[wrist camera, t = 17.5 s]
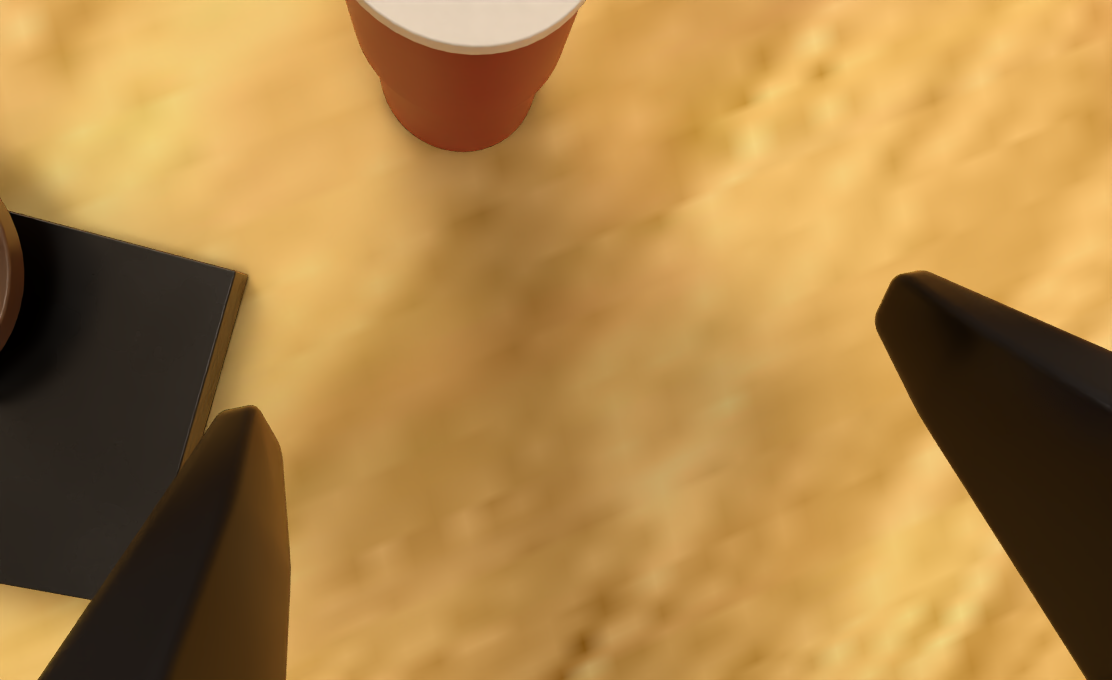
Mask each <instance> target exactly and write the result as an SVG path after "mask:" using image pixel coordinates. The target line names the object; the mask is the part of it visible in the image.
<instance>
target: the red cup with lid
mask: <svg viewBox="0 0 1112 680" xmlns="http://www.w3.org/2000/svg"><path fill="white" fill-rule="evenodd" d="M585 1H586V0H346V3H347V7H348V10H349V13H350V16H351V20H352V23H353V26H354V30H355V33H356V36H357V39H358V41H359V44H360V46H361V49H362V51H363V53H364V55H365V56H366V58H367V60H368V62H369V63H370V65H371V66H372V68H373V69H374V70H375V72H376V73H377V75H378V76H379V77H380V81H381V85H382V88H383V92H384V95H385V98H386V100H387V103H388V105H389V106H390V108H391V110H392V112H393V113H394V115H395V116H396V118H397V119H398V120H399V121H400V123H401V124H402V125H403V126H404V127H405V128H406V129H407V130H408V131H410V132H411V133H412V134H413V135H415V136H416V137H418V138H419V139H421V140H422V141H424V142H426V143H428V144H430V145H432V146H435V147H438V148H441V149H445V150H450V151H460V152H466V151H476V150H481V149H485V148H488V147H491V146H493V145H495V144H497V143H499V142H501V141H502V140H504V139H505V138H507V137H508V136H509V135H511V134H512V133H513V132H514V131H515V130H516V129H517V128H518V127H519V125H520V124H521V123H522V121H523V120H524V118H525V117H526V115H527V113H528V111H529V109H530V107H531V104H532V101H533V98H534V95H535V93H536V92H537V91H538V90H539V89H540V88H541V87H542V85H543V84H544V83H545V82H546V81H547V80H548V78H549V76H550V75H551V73H552V72H553V70H554V69H555V66H556V64H557V62H558V60H559V58H560V55H561V53H562V50H563V48H564V45H565V43H566V40H567V37H568V35H569V32H570V30H571V27H572V25H573V22H574V20H575V17H576V14H577V12H578V9H579V8H580V7H581V6H582V5H583V4H584V2H585Z"/></svg>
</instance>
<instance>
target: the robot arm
mask: <svg viewBox="0 0 1112 680" xmlns="http://www.w3.org/2000/svg"><path fill="white" fill-rule="evenodd" d="M875 325H876V329H877V332H878V334H879V336H880V338H881V340H882V342H883V344H884V346H885V348H886V350H887V352H888V354H889V356H890V358H891V360H892V362H893V364H894V366H895V368H896V370H897V372H898V374H899V376H900V378H901V380H902V382H903V384H904V386H905V388H906V390H907V392H908V394H909V396H910V398H911V400H912V402H913V404H914V406H915V408H916V410H917V412H918V414H919V415H920V417H921V419H922V420H923V422H924V424H925V425H926V427H927V429H928V430H929V432H930V433H931V435H932V437H933V438H934V440H935V441H936V443H937V444H938V446H939V448H940V449H941V451H942V452H943V454H944V456H945V457H946V459H947V460H948V462H949V463H950V465H951V467H952V468H953V470H954V471H955V473H956V474H957V476H958V478H959V479H960V481H961V482H962V484H963V485H964V487H965V489H966V490H967V492H968V493H969V495H970V496H971V498H972V500H973V501H974V503H975V504H976V506H977V508H978V509H979V511H980V512H981V514H982V515H983V517H984V519H985V520H986V522H987V523H988V525H989V526H990V528H991V530H992V531H993V533H994V534H995V536H996V537H997V539H998V541H999V542H1000V544H1001V545H1002V547H1003V548H1004V550H1005V552H1006V553H1007V555H1008V556H1009V558H1010V560H1011V561H1012V563H1013V564H1014V566H1015V567H1016V569H1017V571H1018V572H1019V574H1020V575H1021V577H1022V578H1023V580H1024V582H1025V583H1026V585H1027V586H1028V588H1029V589H1030V591H1031V593H1032V594H1033V596H1034V597H1035V599H1036V600H1037V602H1038V604H1039V605H1040V607H1041V608H1042V610H1043V611H1044V613H1045V615H1046V616H1047V618H1048V619H1049V621H1050V623H1051V624H1052V626H1053V627H1054V629H1055V630H1056V632H1057V634H1058V635H1059V637H1060V638H1061V640H1062V641H1063V643H1064V645H1065V646H1066V648H1067V649H1068V651H1069V652H1070V654H1071V656H1072V657H1073V659H1074V660H1075V662H1076V663H1077V665H1078V667H1079V668H1080V670H1081V671H1082V673H1083V675H1084V676H1085V678H1086V679H1087V680H1112V352H1111V351H1109V350H1107V349H1105V348H1102V347H1100V346H1098V345H1095V344H1093V343H1091V342H1089V341H1086V340H1084V339H1082V338H1079V337H1077V336H1075V335H1073V334H1070V333H1068V332H1066V331H1063V330H1061V329H1059V328H1056V327H1054V326H1052V325H1050V324H1047V323H1045V322H1043V321H1040V320H1038V319H1036V318H1034V317H1031V316H1029V315H1027V314H1024V313H1022V312H1020V311H1018V310H1015V309H1013V308H1011V307H1008V306H1006V305H1004V304H1002V303H999V302H997V301H995V300H992V299H990V298H988V297H985V296H983V295H981V294H979V293H976V292H974V291H972V290H969V289H967V288H965V287H963V286H960V285H958V284H956V283H953V282H951V281H949V280H947V279H944V278H942V277H940V276H937V275H935V274H933V273H931V272H928V271H914V272H909V273H904V274H900V275H897V276H896V277H895V278H893V280H892V281H891V283H890V285H889V287H888V289H887V291H886V293H885V295H884V297H883V300H882V302H881V304H880V306H879V308H878V310H877V312H876V315H875ZM290 576H291V564H290V547H289V534H288V522H287V509H286V496H285V483H284V471H283V459H282V452H281V448H280V445H279V443H278V441H277V439H276V437H275V435H274V433H273V432H272V430H271V428H270V426H269V425H268V423H267V421H266V419H265V418H264V416H263V414H262V412H261V411H260V410H259V409H258V408H257V407H256V406H254V405H248V406H243V407H238V408H233V409H228V410H225V411H222V412H221V413H220V414H218V415H217V416H216V418H215V419H214V421H213V422H212V424H211V425H210V427H209V428H208V430H207V431H206V432H205V434H204V435H203V437H202V438H201V440H200V441H199V443H198V444H197V446H196V447H195V449H194V450H193V452H192V453H191V455H190V456H189V458H188V459H187V460H186V462H185V463H184V465H183V466H182V468H181V469H180V471H179V472H178V474H177V475H176V477H175V478H174V480H173V481H172V483H171V484H170V486H169V487H168V488H167V490H166V491H165V493H164V494H163V496H162V497H161V499H160V500H159V502H158V503H157V505H156V506H155V508H154V509H153V511H152V512H151V514H150V515H149V516H148V518H147V519H146V521H145V522H144V524H143V525H142V527H141V528H140V530H139V531H138V533H137V534H136V536H135V537H134V539H133V540H132V542H131V543H130V544H129V546H128V547H127V549H126V550H125V552H124V553H123V555H122V556H121V558H120V559H119V561H118V562H117V564H116V565H115V567H114V568H113V570H112V571H111V572H110V574H109V575H108V577H107V578H106V580H105V581H104V583H103V584H102V586H101V587H100V589H99V590H98V592H97V593H96V595H95V596H94V598H93V599H92V601H91V602H90V603H89V605H88V606H87V608H86V609H85V611H84V612H83V614H82V615H81V617H80V618H79V620H78V621H77V623H76V624H75V626H74V627H73V629H72V630H71V631H70V633H69V634H68V636H67V637H66V639H65V640H64V642H63V643H62V645H61V646H60V648H59V649H58V651H57V652H56V654H55V655H54V657H53V658H52V659H51V661H50V662H49V664H48V665H47V667H46V668H45V670H44V671H43V673H42V674H41V676H40V677H39V679H38V680H286V666H287V645H288V624H289V603H290Z"/></svg>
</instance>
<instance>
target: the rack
mask: <svg viewBox="0 0 1112 680" xmlns="http://www.w3.org/2000/svg"><path fill="white" fill-rule="evenodd" d="M247 278H248V275H246V274H243V273H240V272H237V271H234V270H230V269H226V268H223V267H219V266H215V265H211V264H208V263H204V262H200V261H196V260H193V259H189V258H185V257H181V256H177V255H174V254H170V253H166V252H162V251H159V250H155V249H151V248H147V247H144V246H140V245H136V244H132V243H128V242H125V241H121V240H117V239H113V238H110V237H106V236H102V235H98V234H95V233H91V232H87V231H83V230H79V229H76V228H72V227H68V226H64V225H61V224H57V223H53V222H49V221H46V220H42V219H38V218H34V217H31V216H27V215H23V214H19V213H15V212H12V211H8V210H7V209H6V207H5V205H4V204H3V202H2V200H1V199H0V584H6V585H11V586H17V587H22V588H28V589H33V590H39V591H45V592H50V593H56V594H61V595H67V596H72V597H78V598H84V599H89V600H92V599H93V598H94V596H95V595H96V593H97V592H98V590H99V589H100V587H101V586H102V584H103V583H104V581H105V580H106V578H107V577H108V575H109V574H110V572H111V571H112V570H113V568H114V567H115V565H116V564H117V562H118V561H119V559H120V558H121V556H122V555H123V553H124V552H125V550H126V549H127V547H128V546H129V544H130V543H131V542H132V540H133V539H134V537H135V536H136V534H137V533H138V531H139V530H140V528H141V527H142V525H143V524H144V522H145V521H146V519H147V518H148V516H149V515H150V514H151V512H152V511H153V509H154V508H155V506H156V505H157V503H158V502H159V500H160V499H161V497H162V496H163V494H164V493H165V491H166V490H167V488H168V487H169V486H170V484H171V483H172V481H173V480H174V478H175V477H176V475H177V474H178V472H179V471H180V469H181V468H182V466H183V465H184V463H185V462H186V460H187V459H188V458H189V456H190V455H191V453H192V452H193V450H194V449H195V447H196V446H197V444H198V443H199V441H200V440H201V438H202V436H203V432H204V429H205V425H206V422H207V418H208V415H209V411H210V408H211V404H212V401H213V397H214V394H215V390H216V387H217V383H218V380H219V376H220V373H221V369H222V366H223V362H224V359H225V355H226V352H227V348H228V345H229V341H230V338H231V334H232V331H233V327H234V324H235V320H236V317H237V313H238V309H239V306H240V302H241V299H242V295H243V292H244V288H245V285H246V281H247Z"/></svg>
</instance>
